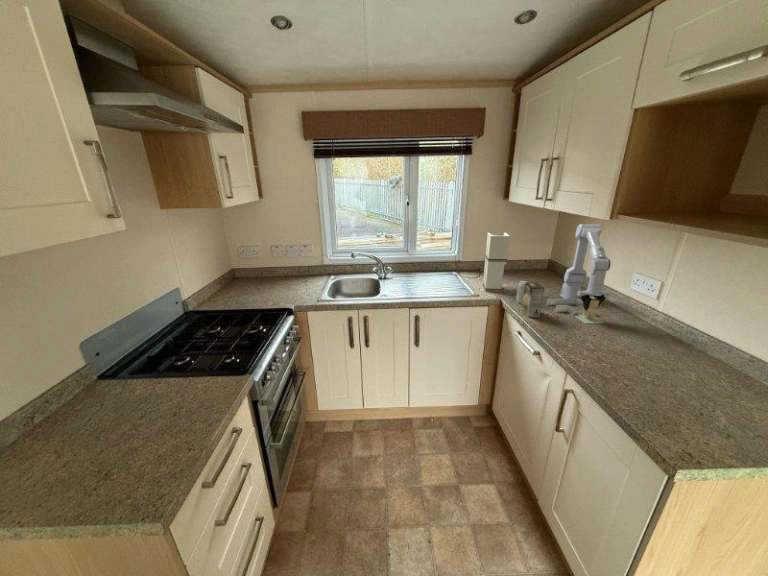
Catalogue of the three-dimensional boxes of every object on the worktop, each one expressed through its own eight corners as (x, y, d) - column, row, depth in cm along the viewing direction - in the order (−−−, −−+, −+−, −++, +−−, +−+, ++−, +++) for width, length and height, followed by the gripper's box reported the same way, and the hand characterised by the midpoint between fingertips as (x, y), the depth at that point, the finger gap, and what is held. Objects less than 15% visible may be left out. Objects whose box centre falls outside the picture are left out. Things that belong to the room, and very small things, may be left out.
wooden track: (546, 304, 169) (547, 298, 168) (575, 303, 169) (576, 298, 168) (560, 315, 155) (562, 309, 154) (592, 315, 155) (594, 308, 154)
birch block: (582, 314, 152) (585, 297, 149) (590, 313, 152) (594, 297, 149) (587, 317, 148) (591, 300, 145) (595, 317, 148) (599, 300, 145)
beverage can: (529, 304, 169) (532, 284, 165) (517, 304, 170) (519, 284, 166) (526, 300, 175) (529, 280, 171) (514, 299, 176) (517, 280, 172)
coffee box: (520, 309, 163) (524, 281, 158) (533, 309, 163) (537, 281, 157) (527, 317, 154) (531, 287, 149) (540, 317, 154) (545, 287, 149)
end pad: (574, 315, 155) (574, 315, 154) (591, 315, 154) (592, 314, 154) (585, 323, 146) (585, 323, 146) (603, 323, 146) (604, 322, 146)
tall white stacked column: (503, 292, 188) (509, 235, 176) (485, 291, 190) (490, 235, 178) (499, 286, 199) (505, 232, 187) (482, 285, 200) (487, 232, 189)
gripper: (586, 286, 141) (580, 312, 145) (617, 285, 140) (610, 312, 145) (576, 281, 147) (571, 306, 152) (607, 280, 147) (600, 306, 152)
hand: (590, 309), depth 149 cm, fingers closed on birch block, 4 cm apart
